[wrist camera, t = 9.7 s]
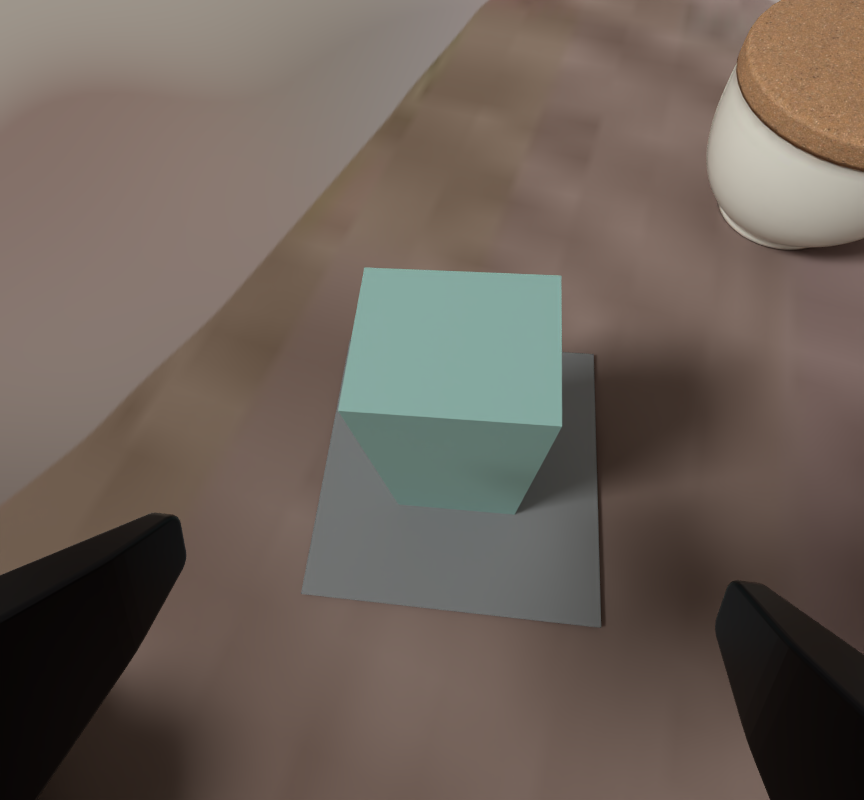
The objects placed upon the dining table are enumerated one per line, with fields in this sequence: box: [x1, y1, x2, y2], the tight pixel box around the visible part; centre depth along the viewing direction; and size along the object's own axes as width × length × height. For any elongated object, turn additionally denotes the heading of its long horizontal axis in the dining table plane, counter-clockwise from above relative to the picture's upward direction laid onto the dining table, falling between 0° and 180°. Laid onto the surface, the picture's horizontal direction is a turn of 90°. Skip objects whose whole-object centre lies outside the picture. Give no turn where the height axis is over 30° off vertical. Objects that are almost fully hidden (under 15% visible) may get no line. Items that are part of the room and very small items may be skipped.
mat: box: [301, 339, 601, 628], centre depth 22 cm, size 12×12×1 cm
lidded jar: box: [706, 0, 864, 250], centre depth 22 cm, size 11×11×9 cm
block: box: [338, 268, 562, 515], centre depth 17 cm, size 4×5×11 cm
